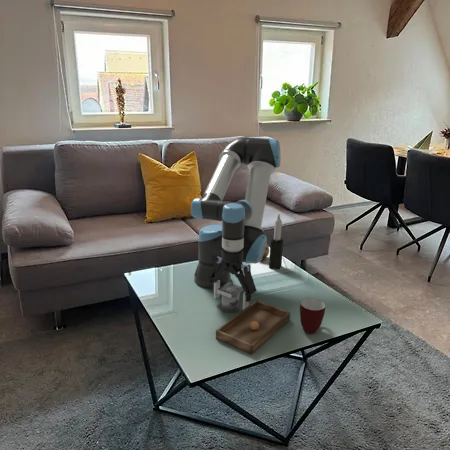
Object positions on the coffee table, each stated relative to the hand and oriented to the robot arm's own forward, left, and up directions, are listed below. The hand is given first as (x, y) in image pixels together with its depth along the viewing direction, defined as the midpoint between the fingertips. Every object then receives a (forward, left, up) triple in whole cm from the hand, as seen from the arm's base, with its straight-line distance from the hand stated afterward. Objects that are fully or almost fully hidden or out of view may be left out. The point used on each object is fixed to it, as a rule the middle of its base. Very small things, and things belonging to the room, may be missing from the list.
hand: (230, 302), depth 151 cm
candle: (-5, +42, -2) cm, 42 cm away
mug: (+29, +6, -2) cm, 30 cm away
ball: (+15, -6, -1) cm, 16 cm away
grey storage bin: (0, -1, -2) cm, 2 cm away
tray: (+14, -6, -2) cm, 16 cm away
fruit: (-15, +46, -2) cm, 48 cm away
